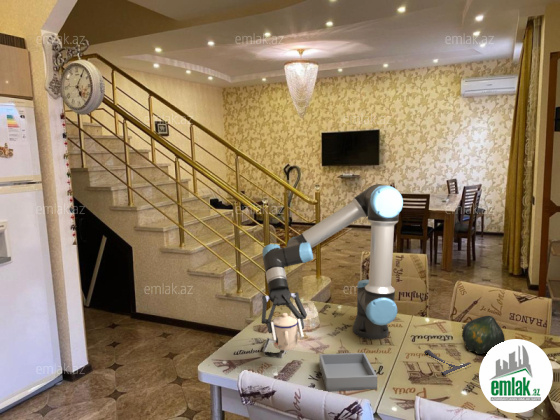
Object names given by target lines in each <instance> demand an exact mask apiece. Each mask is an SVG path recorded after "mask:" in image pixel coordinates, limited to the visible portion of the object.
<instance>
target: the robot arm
mask: <svg viewBox="0 0 560 420" xmlns="http://www.w3.org/2000/svg"><path fill="white" fill-rule="evenodd" d="M403 205H404V199H403V196H402V194H401V193H400V191H399V190H397V189H396V188H395V187H393V186H391V185H385V184H373V185H371V186H369V187H367V188H366V189H365V190H363V191H362V192H360V193H358V194H357V195H356V196H354V197H353V198H352V201H351V202H349V203H347V204H346V205H345V206H343V207H341V208H340V209H338V210H336V211H334V213H332V214H331V215H329V216H327V217H326V218H323V220H321V221H320V222H318V223H316V224H314V225H313V226H311V227H310V228H308V229H306V230H305V231H303V232H302V233H300V234H298V235H297V236H293V237H291V238H290V239H289V240H288V242H287V244H286V246H285V247H281V246H280V245H279V244H276V243H274V244H273V243H269V244H267V245H265V246H264V247H263V249H262V251H261V252H262V261H263V266H264V271H265V278H266V283H267V288H268V294H269V295H262V297H261V302H262V311H261V312H262V313H261V324H263V325H264V324H265V325H266V326H267V332H268V334H271V339H273V343H272V344H274V343H275V342H276V335H275V330H274V324H273V321H272V320H273V316H274V312H275V310H276V308H277V307H281V306H286V307H287V308H288V309H289V310H290V312H291V313H292V314H293V315H294V318H296V319H297V321H298V324H297V332H298V335H299V336H298V337H299V339H300V340H303V339H304V336H305V335H304V332H303V331H304V328H305V324H304V320H306V319H307V316H308V314H307V311H306V310H305V308H304V307H305V306H304V305H303V303H302V301H301V299H300V295H299V292H298V291H296V292H295V293H293V292H291V291H290V288H289V284H288V279H287V273H286V270H285V269H286V268H288V267H291V266H295V265H300V264H305V263H307V262H310V261H312V260H314V254H313V248H314V247H316V246H317V245H319V244H320V243H323V242H324V241H325V240H327V239H328V238H330V237H332V236H333V235H335V234H337V233H338V232H340V231H342V230H343V229H345V228H347V227H348V226H350V225H351V224H353V223H355V222H356V221H357V220H359V219H361V218H367V221H368V222H369V223H370V224H371V226H370V249H369V251H370V252H369V270H368V272H369V274H368V277H369V278H368V279H362V280H358V282H357V286H356V289H357V292H356V293H357V294H356V299H357V301H356V306H357V307H356V312H357V313H356V317H355V319H354V321H353V324H352V333H353V334H355V335H356V336H357V337H359V338H362V339H366V340H381V339H384V338H386V337H388V336H387V335H389V326H388V325H389V324H390V323H392V322H394V321H395V319H396V318H397V315H398V306H397V304H396V302H395V295H396V294H395V293H396V289H395V287H393V286H392V278H393V277H392V275H393V255H394V253H393V252H394V233H395V226H396V224H397V223H398V222H399V219H400V218H399V217H400V216H399V215H400V212H401V211H402V210H403ZM291 298H292V299H293V300H294V303H295V305H296V306H295V305H294V304H293V302H292V301H291ZM269 300H270V302H271V303H272V306H271V308H270V311H269V314H268V317H267V306H268V305H267V303H268V302H269ZM296 307H297V308H296ZM266 317H267V318H266Z"/></svg>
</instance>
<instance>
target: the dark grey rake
mask: <svg viewBox="0 0 560 420" xmlns="http://www.w3.org/2000/svg"><path fill="white" fill-rule="evenodd" d="M424 353H425V354H426V353H428V355H429V356H431V357H433V358H435V359H437V360H439V361H441V362H443V361H444V362H443V363H445V361H446V360H444V359H442V358H440V357H439V356H437V355H436V354H435V353H434V352H432V351H431V350H430V349H426V350H424V352H423V354H424ZM464 363H465V362H464ZM464 363H462V364H463V365H460V366H455V365H452V364H448V363H446V364H448V365H449V366H451V367H453V368H452V369H451V368H448V369H449V370H446V371H444V372H442V371H441V372H440V374H441V373H443V374H442V375H443V376H444V375H446V374H448V373H450V372H452V371H455V370H457V369H460V368H462V367H465V366H467V365H469V364H472V363H471V362H469V361H468V362H466V363H465V364H464Z"/></svg>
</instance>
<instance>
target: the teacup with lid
mask: <svg viewBox="0 0 560 420" xmlns="http://www.w3.org/2000/svg"><path fill="white" fill-rule="evenodd" d="M297 320H298V319H297V318H296V317H295V316H292V315H288V313H287V312H283V313H282V314H281V315H280V316H276V317H275V318H274V319H272V322H273V324H274V330H275V335H276V342H275V343H273V347H274V348H275V349H277V350H280V351H284V350H287V351H290V350H293V349H296V348H297V347H298V345H299V343H298V337H299V336H298V335H299V333H298V326H297V324H298V321H297Z"/></svg>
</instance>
